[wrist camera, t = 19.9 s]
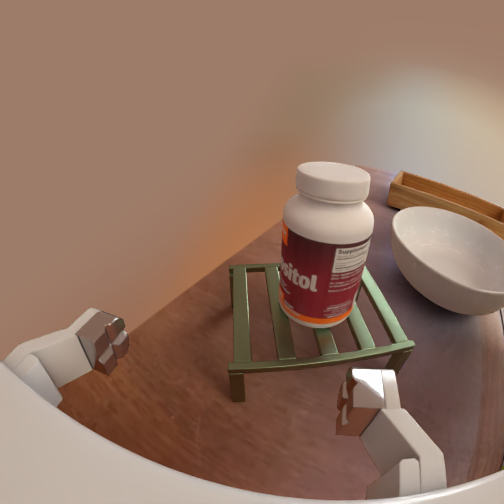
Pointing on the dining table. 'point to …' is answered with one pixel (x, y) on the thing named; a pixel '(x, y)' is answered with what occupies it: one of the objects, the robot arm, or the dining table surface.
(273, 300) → the rack
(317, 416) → the dining table surface
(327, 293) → the pill bottle
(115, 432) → the dining table surface
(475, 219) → the tray
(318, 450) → the dining table surface
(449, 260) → the serving bowl
